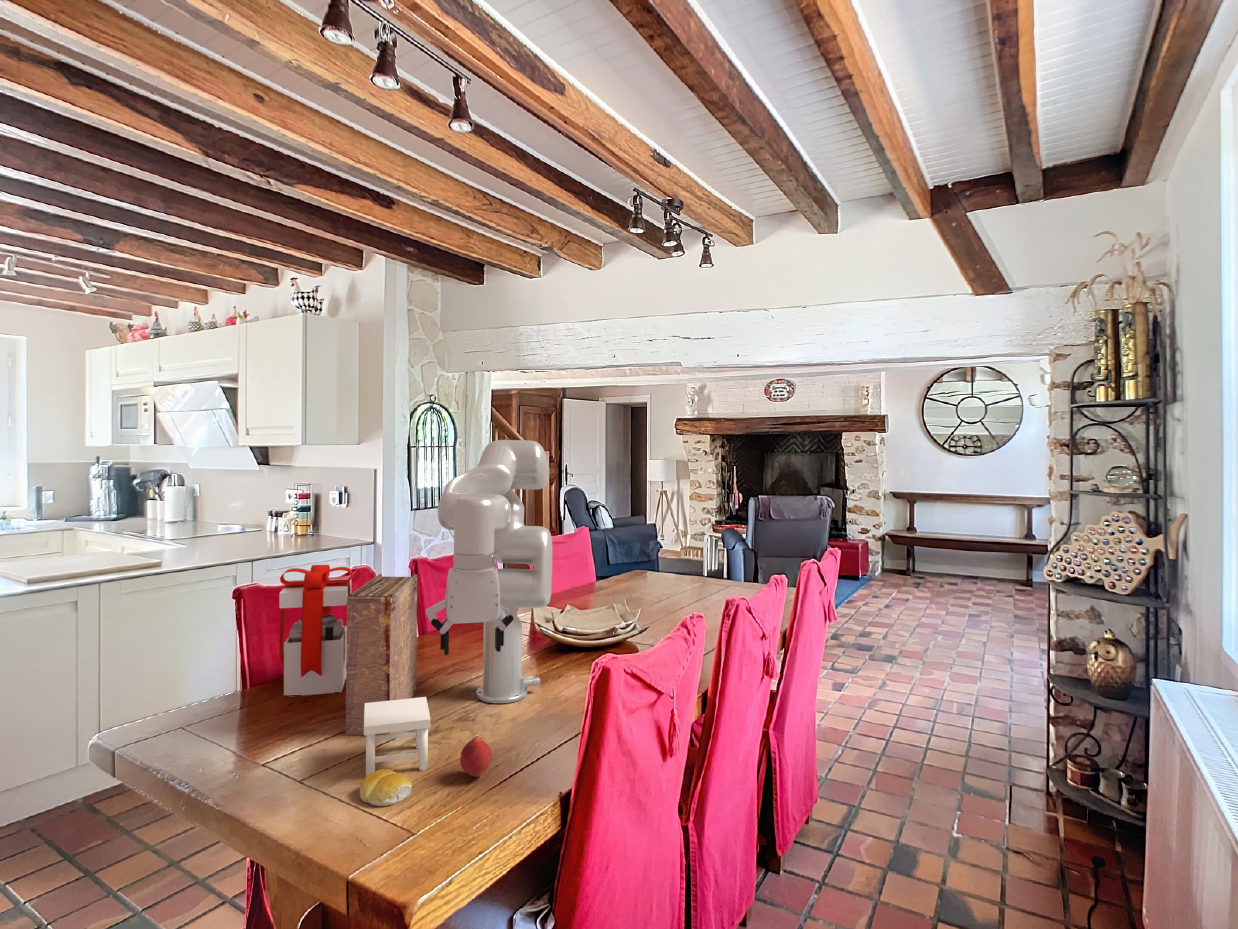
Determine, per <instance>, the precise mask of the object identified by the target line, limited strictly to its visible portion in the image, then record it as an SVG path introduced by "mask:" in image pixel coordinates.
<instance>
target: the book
mask: <svg viewBox="0 0 1238 929" xmlns="http://www.w3.org/2000/svg"><path fill="white" fill-rule="evenodd" d="M346 626H347V644H346V679H345V735H346V736H365V735H364V709H365V703H372V702H381V701H391V700H401V699H410V698H414V697H415V694H416V693H417V649H418V648H417V642H418V641H417V638H418V636H417V635H418V628H417V627H418V574H414V575H413V576H383V575H382V573H379V574H378V575H376V576H374V577H373V578H372V579H370V580H369V581H368V582H365V583H364V584H363V585H362V586H360V587H358V588H357V589H356V590H354V591H353V592H351V594H350V595H349V596H347V604H346ZM415 692H416V693H415ZM413 696H414V697H413ZM385 734H392V732H389V733H380V734H375V736H377V735H385Z"/></svg>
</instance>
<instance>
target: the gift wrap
mask: <svg viewBox="0 0 1238 929" xmlns="http://www.w3.org/2000/svg"><path fill="white" fill-rule="evenodd" d="M310 567H311V568H310V569H309V570H308V569H304V568H299V567H298V568H297V567H295V568H292V567H291V568H289V569H286V570H285V571H284V572H283V573H282V574H281V576H280V577H279V581H280V583H281V585H284V586H283V587H282V590H281V591H280V592H279V595H278V598H279V600H278V601H279V605H278V606H279V609H281V610H280V612H281V613H280V614H281V615H280V623H279V624H280V625H279V626H280V627H279V645H278V646H279V653H278V654H279V659H280V664H281V666H282V669H283V696H284V695H301V696H313V695H325V694H334V693H335V692H339V693H343V690H344V686H345V683H346V644H347V625H344V620H343V619H336V616H335V615H333V614H332V607H337V606H340V607H341V606H347V596H349V595H350V594H352V578H353V576H354V572H353V570H352V569H351V568H350V567H347V566H337V567H332V568H330V567H331V566H330V564H312V565H311V566H310ZM336 571H345V572H348V573H349V575H350V577H349V578H331V577H330V573H331V572H336ZM292 572H293V573H296V572H297V573H300V574H304V576H303V579H302V580H301V579H298V580H297V579H296V580H294V579H293V580H290V581H289V580H286V579H285V574H287V573H292ZM292 608H294V609H295V608H302V609H301V610H302V611H301V618H300V619H298V621H295V622H294V623H293V625H292V626H291V628H290V629H289V635H288V637H287V638H286V640H285V639H284V638H285V637H284V636H285V611H286V609H292ZM284 640H285V641H284ZM335 694H336V693H335Z"/></svg>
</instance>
